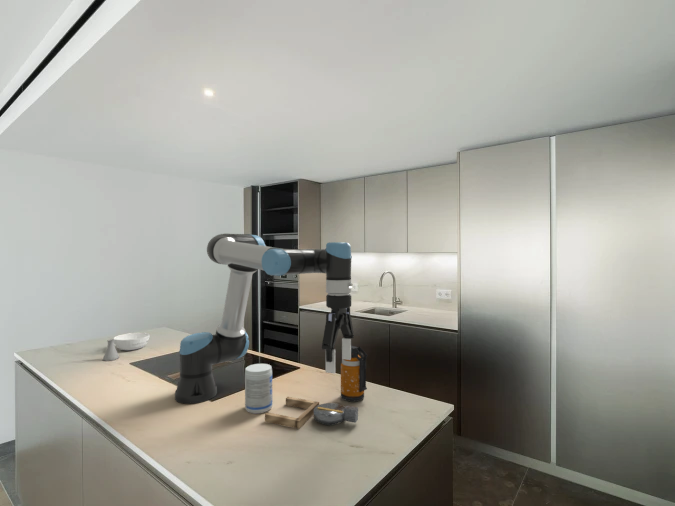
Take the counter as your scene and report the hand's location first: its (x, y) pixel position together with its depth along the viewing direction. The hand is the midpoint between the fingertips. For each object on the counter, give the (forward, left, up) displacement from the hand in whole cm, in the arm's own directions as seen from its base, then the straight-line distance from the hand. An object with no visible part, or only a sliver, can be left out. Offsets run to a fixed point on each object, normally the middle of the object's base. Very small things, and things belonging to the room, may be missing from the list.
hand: (339, 365), depth 104 cm
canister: (-5, +29, -22) cm, 37 cm away
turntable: (-5, +10, -21) cm, 23 cm away
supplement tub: (-34, +8, -22) cm, 41 cm away
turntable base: (-7, +10, -22) cm, 25 cm away
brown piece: (-21, +8, -22) cm, 31 cm away
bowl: (-147, +47, -22) cm, 156 cm away
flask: (-139, +29, -22) cm, 143 cm away
